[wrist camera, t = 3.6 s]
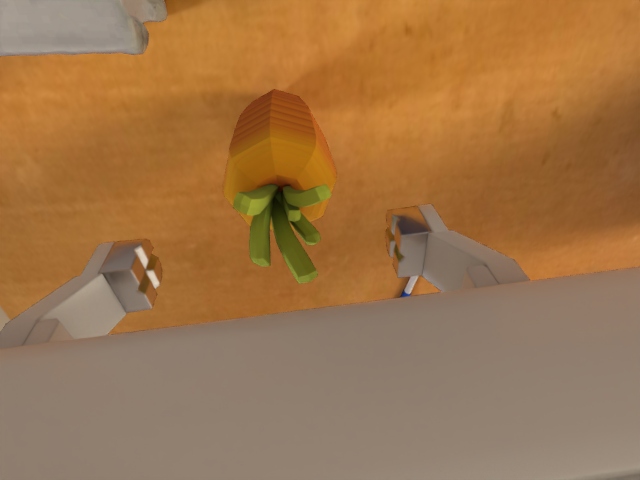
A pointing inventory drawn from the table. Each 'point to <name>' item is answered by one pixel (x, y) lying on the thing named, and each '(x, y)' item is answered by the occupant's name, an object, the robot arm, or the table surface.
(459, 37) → the table surface
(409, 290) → the ballpoint pen
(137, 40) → the incense holder
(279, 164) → the carrot
